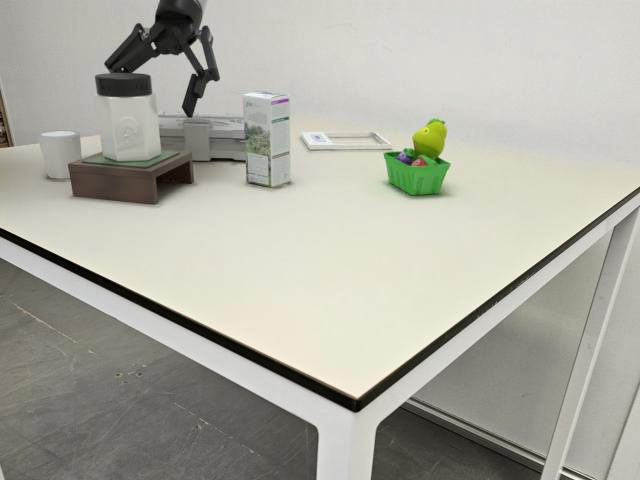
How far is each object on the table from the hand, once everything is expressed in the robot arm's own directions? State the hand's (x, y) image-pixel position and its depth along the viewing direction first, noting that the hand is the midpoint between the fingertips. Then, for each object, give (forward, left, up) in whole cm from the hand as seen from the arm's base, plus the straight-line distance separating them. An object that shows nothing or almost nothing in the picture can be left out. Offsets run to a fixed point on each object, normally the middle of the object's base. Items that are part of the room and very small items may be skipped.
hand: (148, 110), depth 99 cm
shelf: (0, -7, -11) cm, 13 cm away
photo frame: (+24, +42, -11) cm, 50 cm away
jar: (0, -6, -6) cm, 9 cm away
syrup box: (+19, +4, -12) cm, 23 cm away
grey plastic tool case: (-3, +23, -12) cm, 26 cm away
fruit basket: (+44, +9, -12) cm, 46 cm away
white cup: (-16, -3, -12) cm, 20 cm away
